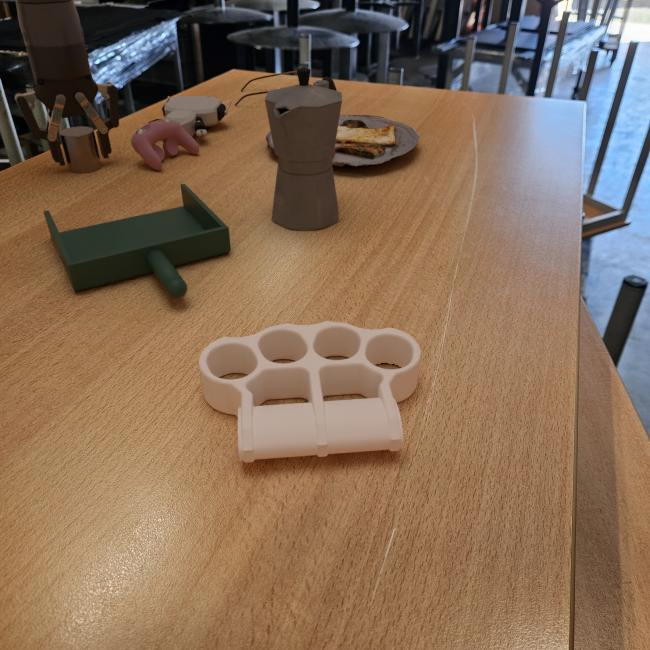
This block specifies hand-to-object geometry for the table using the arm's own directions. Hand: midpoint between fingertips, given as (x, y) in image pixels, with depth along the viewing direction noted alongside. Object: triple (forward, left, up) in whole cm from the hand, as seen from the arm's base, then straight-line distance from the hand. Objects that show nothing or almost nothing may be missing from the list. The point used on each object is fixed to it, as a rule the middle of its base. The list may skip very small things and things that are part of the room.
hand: (83, 160), depth 87 cm
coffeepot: (+22, -31, -1) cm, 38 cm away
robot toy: (+20, +9, -1) cm, 22 cm away
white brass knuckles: (+5, -62, -1) cm, 62 cm away
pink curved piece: (+12, -3, -1) cm, 12 cm away
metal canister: (0, 0, -1) cm, 1 cm away
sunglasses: (+43, +22, -1) cm, 48 cm away
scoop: (0, -33, -1) cm, 33 cm away
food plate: (+39, -12, -1) cm, 41 cm away
